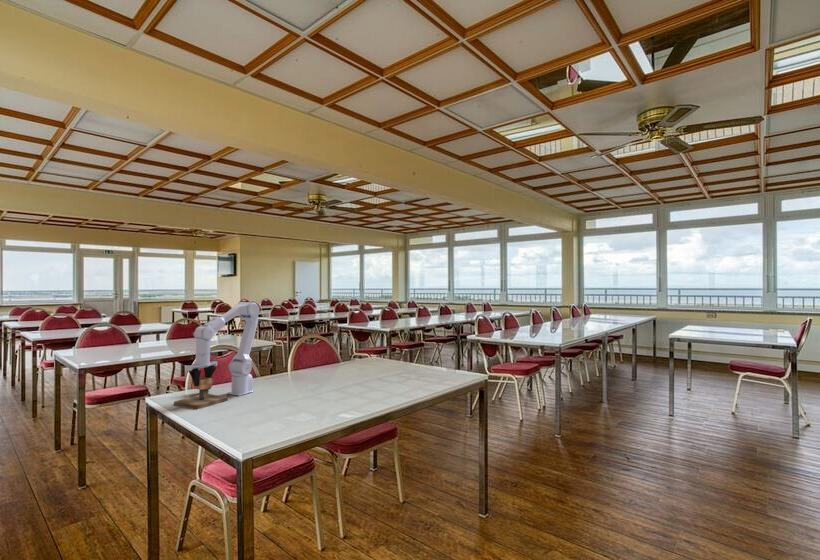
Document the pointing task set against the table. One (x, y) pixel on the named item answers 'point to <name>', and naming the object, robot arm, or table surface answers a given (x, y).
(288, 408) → the table surface
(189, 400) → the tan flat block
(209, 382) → the hollow wooden block
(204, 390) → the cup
